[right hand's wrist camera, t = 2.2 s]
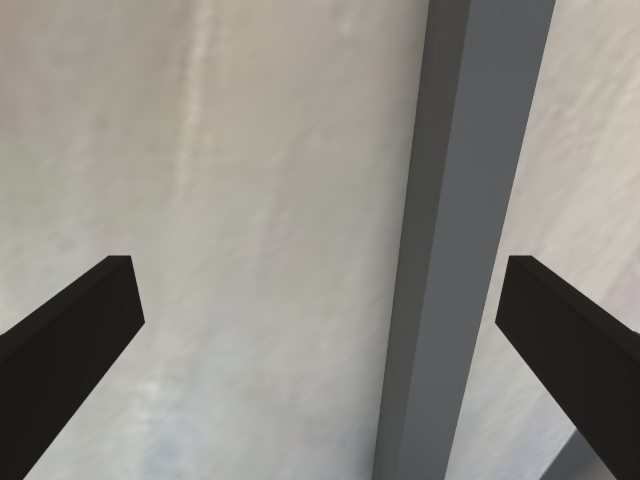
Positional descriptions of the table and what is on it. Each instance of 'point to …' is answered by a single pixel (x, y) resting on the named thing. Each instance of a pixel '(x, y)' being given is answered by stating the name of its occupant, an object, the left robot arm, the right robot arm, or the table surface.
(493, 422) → the table surface
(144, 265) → the table surface
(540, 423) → the table surface
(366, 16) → the table surface
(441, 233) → the bar
